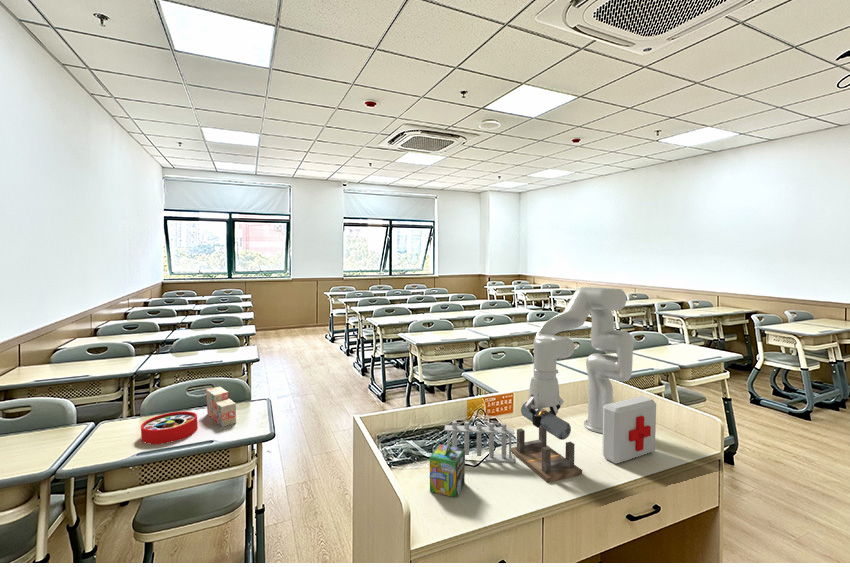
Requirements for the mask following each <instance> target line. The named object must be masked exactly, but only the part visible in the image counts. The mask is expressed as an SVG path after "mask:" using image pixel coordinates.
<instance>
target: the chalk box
mask: <svg viewBox="0 0 850 567" xmlns="http://www.w3.org/2000/svg"><path fill="white" fill-rule="evenodd" d="M465 461H466V460H465V448H460V447H457V448H456V447H452V440H450V444H449V445H448V444H447V445H445V444H441V443H439V444H438V445H437V446H436V448H435V449H434V450H433V451H432V453H431V454H430V456H429V492H430V491H431V492H430V493H434V492H435V494H439V495H443V494H444V496H447V495H449V496H448V497H451V496H452V498H455V497H457V498H458V496H459V494H460V492H461V490H462V488H463V487H464V485H465V483H466V482H465V479H466V478H465V471H466V470H465V467H466V466H465V465H466V464H465Z"/></svg>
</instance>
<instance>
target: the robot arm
mask: <svg viewBox="0 0 850 567" xmlns="http://www.w3.org/2000/svg"><path fill="white" fill-rule="evenodd" d="M627 298H628V297H627V294H626V292H625V291H624V290H623V289H621V288H609V287H608V288H607V287H592V286H590V287H589V286H583V287H579V288H577V289H576V290H575V291H574V292H573V295H572V296H571V298H570V299H569V301H568V303H567V305H566V306H565V308H564V309H563V311H562V312H560V313H558V314H557V315H555V316H553V317H551V318H550V319H548V320H546V321H544V323H543V324H542V325H541V327H540V328H539V330H538V331H537V333H536V335H535V337H534V339H533V344H532V346H533V377H531V379H530V383H529V388H528V389H529V390H528V399H527V401H526V402H527V403H526V404H525V407H526V408H527V409H528V410H529V411H530V412H531V414H532V421H531V422H532V425H533V426H534V427H535V428H537V429H539V427H540V417H539V416H538V415H539V412H540V409H541V408H543V409H546V408H549V410H548V412H550V413H552V414H553V415H555V416H557V414H558V413H559V409H560V408H561V406H562V405H563V404H564V400H563V399H562V397H561V395H560V387H559V381H558V377H557V374H559V370H558V369H557V359H567V358H569V357H571V356H572V355H573V354H574V351H575V343H574V341H573V340H572V339H571V338H569V337H566V336H559V335H556V334H558V333H560V332H563V331H569V330H573V329H577V328H579V327H582V326H583V325H584V324H585V322H586V320H587V319H588V316H589V315H590V316H591V329H590V330H591V333H590V341H591V342H590V343H591V347H592V348H593V349H595V350H596V351H601V352H605V353H611V354H612V353H613V354H616V355H617V356H615V355H611V354H605V353H598V352H597V353H592V354H589V355H588V356H587V358H586V360H585V366H586V371H587V381H588V385H587V386H588V387H587V388H588V390H587V395H588V396H587V400H588V401H587V419H586V420H584V422H583V426H584V427H585V428H586V429H587V430H589V431H592V432H594V433H599V434H603V406H605V405H606V404H610V403H614V401H613V400H614V399H613V398H614V397H613V395H614V387H613V384H612V382H611V380H613V381H619V382H627V381H629V380H630V379H631V377H632V374H633V361H634V359H633V358H634V340H633V337H632V335H631V334H630V332H628V331H626V330H621V329H615V327H614V325H615V324H614V322H615V321H614V320H615V319H614V318H615V317H614V315H613V313H612V311H620V310H622V309H624V308H625V306H626V305H627V304H626V303H627V300H628V299H627ZM531 405H533V407H532V408H531ZM536 408H537V409H536ZM535 410H536V412H535Z"/></svg>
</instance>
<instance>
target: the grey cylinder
mask: <svg viewBox="0 0 850 567" xmlns="http://www.w3.org/2000/svg"><path fill="white" fill-rule="evenodd" d="M527 402H528V401H526V402H524V403H523V404H522V405H521V408H520V413H521V415H522V416H523V417H524V418H526V419H527V420H529V421H531V422H532V414H531V412H530V411H529V410H528V409H527V408H526V407H525V404H526V403H527ZM532 407H533V405H531V408H532ZM536 409H537V408H536ZM535 412H536V410H535ZM538 416H539V417H540V427H541V428H543V429H544V430H546V431H547V433H549V434H551V435H552V436H554V437H556V439H559V440H565V439H567V438H568V437H569V436H570V434H571V431H572V427H571V425H570V423H568V421H565V419H562V418H561V417H559V416H557V415H556V416H555V415H553V414H552V413H550V412H549V410H547V409H546V408H541V409H540V412H539V415H538Z"/></svg>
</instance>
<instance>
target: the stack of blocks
mask: <svg viewBox="0 0 850 567" xmlns="http://www.w3.org/2000/svg"><path fill="white" fill-rule="evenodd" d="M205 393H206V405H207V406H206V407H207V408H206V411H207V415H208V414H209V415H208V416H209V417H210V416H211V417H210V418H211V419H212V420H213V419H214V420H215V421H214V420H213V421H214V422H215V423H217V425H219V426H220V427H221V428H223V427H227V425H228V426H230V425H235V424H237V413H236V412H237V411H236V410H237V409H236V408H237V403H236V402H234V400H232V399H230V397H229V395H230V394H229V391H227V390H226V389H224V388H223V387H221V386H216V387H212V388H207V389H205ZM234 423H235V424H234Z"/></svg>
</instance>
